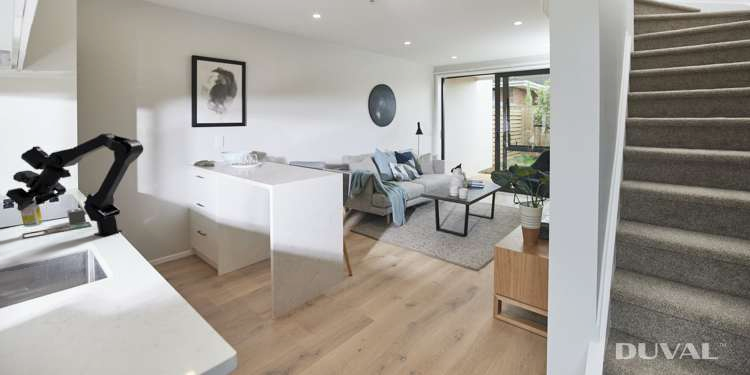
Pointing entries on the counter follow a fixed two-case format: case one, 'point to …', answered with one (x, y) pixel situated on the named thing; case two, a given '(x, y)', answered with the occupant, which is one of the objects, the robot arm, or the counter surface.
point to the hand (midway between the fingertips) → (26, 207)
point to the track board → (59, 229)
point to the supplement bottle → (31, 215)
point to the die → (76, 216)
